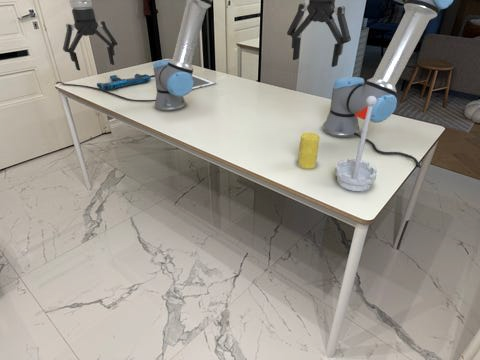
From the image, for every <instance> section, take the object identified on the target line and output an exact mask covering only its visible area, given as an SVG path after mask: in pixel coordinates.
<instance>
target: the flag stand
mask: <svg viewBox="0 0 480 360" xmlns="http://www.w3.org/2000/svg"><path fill="white" fill-rule="evenodd" d="M376 102H377V99H376V97H374V96H369V97H368V98H367V99H366V103H367V105H368V106H367V107H366V108H364V109H363V110H361V111H360V112H358V113H357V114H355V116H357V117H358V119H359V118H360V119H362V120H363V123H362V124H363V125H362V130H361V134H360V135H361V138H360V139H359V143H358V147H357V154H356V158H347V161H344V160H339V161H338V162H337V164H336V166H335V171H334V173H335V176H336V182H337V184H338V185H339V186H340V187H341V188H343V189H346V190H349V191H353V192H364V191H366V190H368V189H370V187H371V185H372V184H373V183H374V182H375V181H376V179H377V173H378V169H377V168H376V166H370V165H371V163H370V162H369V161H366V160H362V157H363V152H364V147H365V143H366V141H365V139H367V134H368V131H369V126H370V122H371V121H370V117H371V112H372V108H373V105H375V104H376Z"/></svg>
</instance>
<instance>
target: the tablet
mask: <svg viewBox="0 0 480 360" xmlns="http://www.w3.org/2000/svg"><path fill="white" fill-rule="evenodd" d="M192 78H193V82H194V84H193V88H192V90H191V91H193V90H196V89H200V88H205V87H207V86H208V87H209V86H212V85H215V84H216V82H214V81H211V80H209V79H205V78H202V77H200V76H198V75H196V74H193V73H192Z"/></svg>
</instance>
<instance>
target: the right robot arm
mask: <svg viewBox="0 0 480 360" xmlns="http://www.w3.org/2000/svg"><path fill="white" fill-rule="evenodd" d="M394 1H395V2H397V3H400V4H403V8H404V11H405V12H404V14H403V16H402V18H401V19H400V22H399V24H398V26H397V29H396V31H395V32H394V34H393V36H392V39H391V41H390V42H389V44H388V46H387V48H386V50H385V52H384V55H383V56H382V58H381V61H380V63H379V64H378V67H377V68H376V70H375V73H374V75H373V76H372V77H371V78H368V79H367V80H366V81H365V79H364V78H363V77H359V76H343V77H339V78H336V79H335V80H334V82H333V86H332V92H331V99H330V100H331V101H330V107H329V112H328V115H327V117H326V120H325V121H324V123H323V126H322V130H323V132H324V133H325V134H326V135H329V136H332V137H335V138H339V139H341V138H342V139H349V138H354V137H357V138H360V139H361V134H359V132H360V125H359V117H357V116H355V114H357V113H358V112H360V111H361V110H363V109H364V108H366V107H367V106H368V105H367V103H366V99H367V98H368V97H369V96H374V97H376V99H377V102H376V104H375V105H373V108H372V112H371V117H370V121H369V122H371V123H373V124H379V123H383V122H384V121H386V120H387V119H389V118H390V117H391V116H392V115H393V113H394V112H395V111H396V108H397V103H398V99H397V97H396V94H397V92H398V91H397V88H396V85H397V83H398V81H399V80H400V77H401V76H402V74H403V71H404V70H405V67H406V66H407V64H408V62H409V60H410V59H411V56H412V54H413V53H414V50H415V49H416V47H417V45H418V43H419V41H420V39H421V38H422V36H423V33H424V31H425V30H426V28H427V26H428V24H429V21H430V20H433V19H435V18H436V17H437V16H438V14H439V13H440V11H441V10H444V9H447V8H449V6H451V5H452V4H453V2H454V0H394ZM335 3H336V0H308V4H306V3H305V2H302V3H299V4H298V6H297V7H298V8H297V12H296V14H295V16H294V18H293V20H292V21H291V24H290V25H289V28H288V30H287V32H286V35H287V36H290V37H291V38H292V39H291V49H293V51H292V60H293V61H297V60H299V59H300V49H301V40H302V38H301V37H300V36H301V34H302V33H303V32H304V31H305V30H306V29H307V27H308V26H309V25H310V24H311V23H312V22H313V23H314V22H315V23H316V22H317V23H318V22H319V23H325V24H326V26H328V28H329V30H330V32H331V34H332V36H333V38H334V39H335V41H336V43H335V44H334V45H333V52H332V60H331V67H332V68H335V67H336V66H338V63H339V57H340V56H341V55H342V54H343V49H344V45H345V44H346V43H349V42H351V40H352V38H351V35H350V31H349V27H348V23H347V19H346V15H345V14H346V13H345V12H346V7H345V6H344V5H342V6H336V5H335ZM305 12H308V15H307V16H306V17H305V18H304V20H303V21H302V22H301V20H302V18H303V17H304V15H305ZM334 13H335V15H336V16H337V21H338V25H337V24H336V21H335V20H336V19H335V18H334V17H333V15H334ZM300 23H301V24H300ZM338 26H339V27H338ZM365 143H368V144H369V145H371V146H372V148H373V151H375V152H376V153H378V154H381V155H397V156H402V157H404V158H405V157H406V158H409V159H411V160H412V161H413V162H414V163H415V164H416V167H417V168H419V169H421V168H422V166H421V164H420V162H419V160H418V159H417V158H416V157H414V156H413V155H411V154H408V153H404V152H401V151H384V150H380V149H378V148H377V146H376V145H375V143H374V142H373V141H371V140H369V139H368V138H366V139H365ZM409 223H410V219H408V220H405V222H404V226H403V228H402V231H401V234H400V236H399V239H398V241H397V246H396V250H397V251H399V250H400V247H401V245H402V241H403V239H404V235H405V233H406V230H407V229H408V228H407V227H408V225H409Z"/></svg>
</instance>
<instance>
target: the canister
mask: <svg viewBox="0 0 480 360" xmlns="http://www.w3.org/2000/svg"><path fill="white" fill-rule="evenodd" d="M299 141H300V142H299V149H298V159H297V165H298V167H299V168H301V169H305V170H311V169H314V168H315V167H316V166H317V158H318V152H319V144H320V135H319V134H317V133H315V132H309V131H307V132H302V133H301V134H300V140H299Z"/></svg>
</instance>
